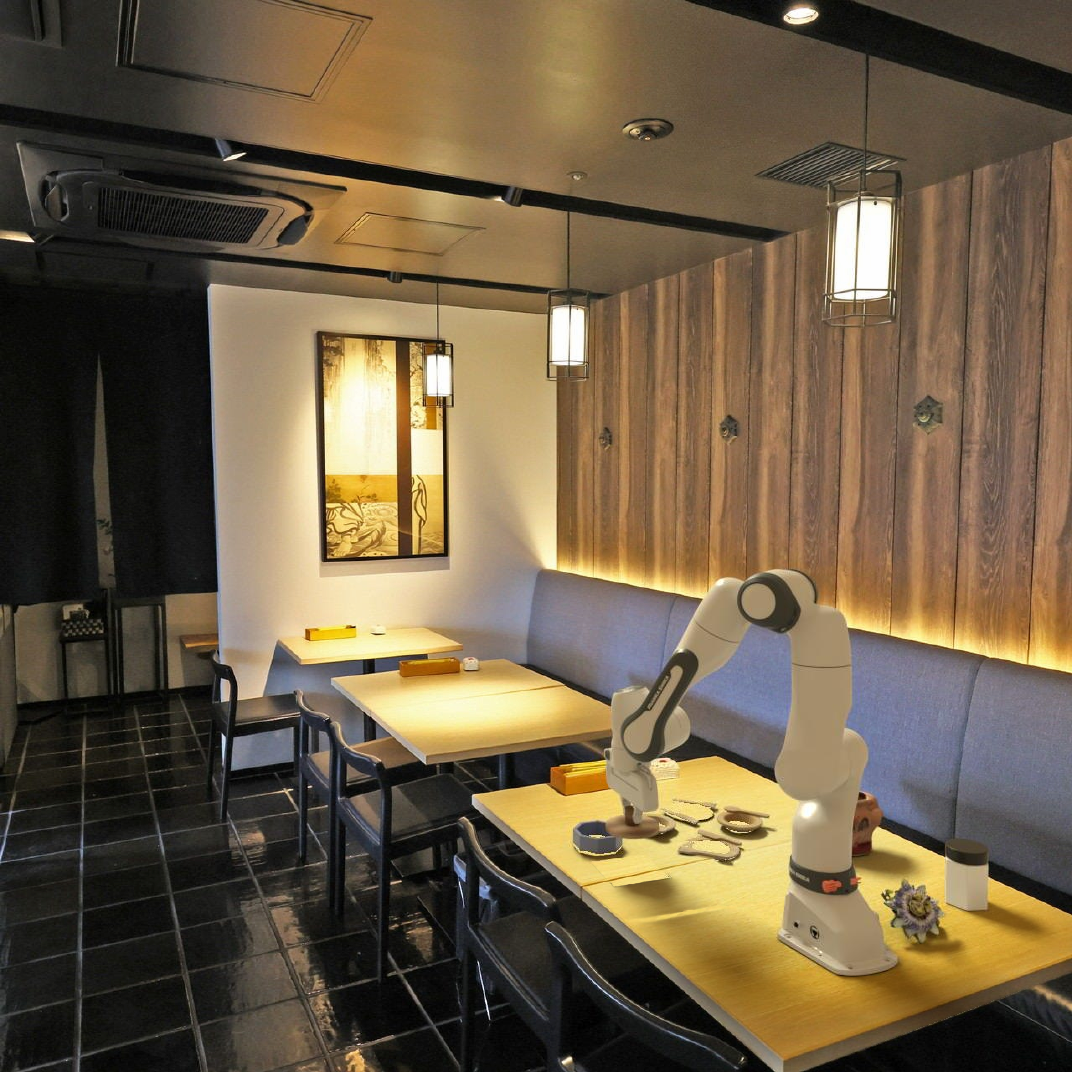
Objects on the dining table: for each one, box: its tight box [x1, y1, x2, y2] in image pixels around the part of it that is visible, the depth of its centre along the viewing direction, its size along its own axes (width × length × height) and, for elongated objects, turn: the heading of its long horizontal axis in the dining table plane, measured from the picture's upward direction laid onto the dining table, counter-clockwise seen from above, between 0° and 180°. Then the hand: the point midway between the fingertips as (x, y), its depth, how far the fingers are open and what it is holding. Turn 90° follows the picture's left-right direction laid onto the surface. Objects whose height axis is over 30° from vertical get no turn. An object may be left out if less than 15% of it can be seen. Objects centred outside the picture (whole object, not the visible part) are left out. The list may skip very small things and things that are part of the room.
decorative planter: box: [852, 790, 884, 857], centre depth 205 cm, size 20×12×14 cm, turn 109°
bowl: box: [572, 819, 624, 854], centre depth 205 cm, size 11×11×5 cm
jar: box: [944, 838, 990, 912], centre depth 179 cm, size 9×8×12 cm
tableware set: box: [642, 798, 771, 861], centre depth 217 cm, size 35×29×4 cm
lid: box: [605, 805, 659, 840], centre depth 192 cm, size 12×12×5 cm
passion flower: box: [880, 877, 947, 944], centre depth 167 cm, size 11×11×12 cm
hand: (632, 819), depth 192 cm, fingers closed on lid, 3 cm apart
